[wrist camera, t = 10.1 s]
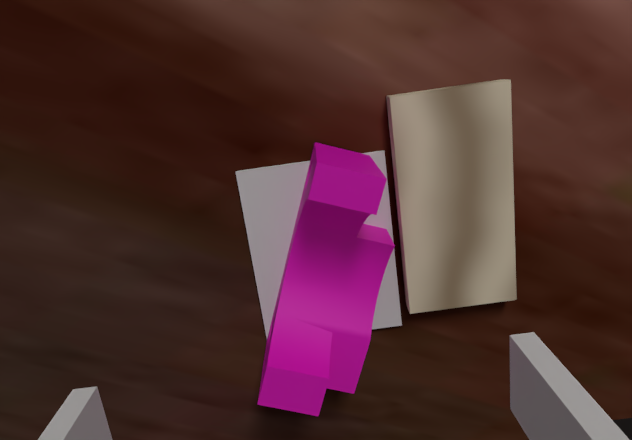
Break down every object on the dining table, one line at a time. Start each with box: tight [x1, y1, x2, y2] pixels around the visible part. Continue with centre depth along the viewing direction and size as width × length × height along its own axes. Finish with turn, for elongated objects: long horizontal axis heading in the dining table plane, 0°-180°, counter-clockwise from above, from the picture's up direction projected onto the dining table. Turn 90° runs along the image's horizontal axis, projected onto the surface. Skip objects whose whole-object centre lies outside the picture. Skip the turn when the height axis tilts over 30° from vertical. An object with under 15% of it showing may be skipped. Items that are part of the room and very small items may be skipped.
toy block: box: [257, 142, 395, 416], centre depth 32 cm, size 15×6×8 cm, turn 166°
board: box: [386, 79, 517, 314], centre depth 34 cm, size 8×15×2 cm, turn 8°
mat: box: [236, 150, 402, 338], centre depth 36 cm, size 10×13×1 cm
